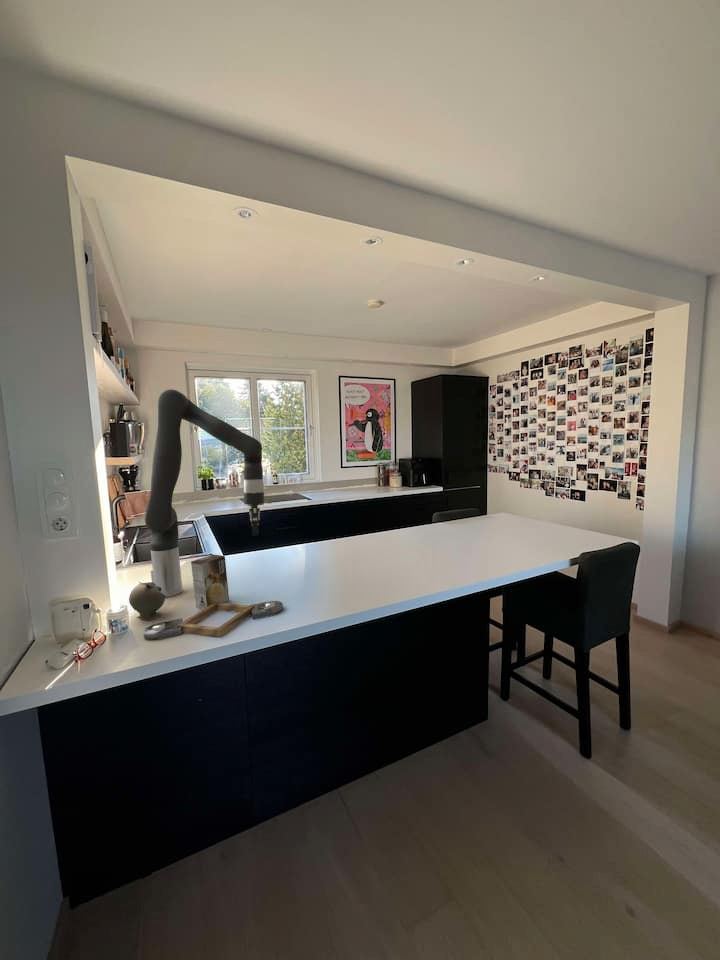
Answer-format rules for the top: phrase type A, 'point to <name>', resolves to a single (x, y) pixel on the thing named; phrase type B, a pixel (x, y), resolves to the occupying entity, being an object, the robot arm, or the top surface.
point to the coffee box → (210, 580)
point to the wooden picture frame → (190, 628)
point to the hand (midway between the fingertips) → (255, 533)
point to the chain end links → (171, 627)
